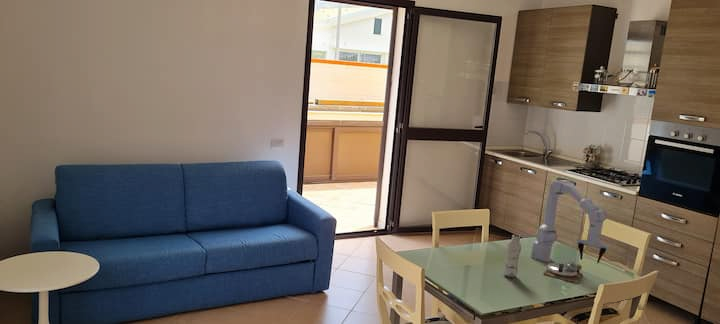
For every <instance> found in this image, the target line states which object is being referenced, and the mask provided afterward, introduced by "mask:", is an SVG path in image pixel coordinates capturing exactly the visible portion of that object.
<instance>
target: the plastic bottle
mask: <svg viewBox="0 0 720 324" xmlns="http://www.w3.org/2000/svg"><path fill="white" fill-rule="evenodd" d="M520 241H521V236H520V235H518V234H512V236H511V240H510V242H508V244H507V247H506V248H507V251H506V253H507V254H506V260H505V264H504V267H503V272H502V273H503V275H504V276H505V277H508V278H515V277H516V276H517V275H518V263H519V258H520V254H521V251H522V245H521V242H520Z"/></svg>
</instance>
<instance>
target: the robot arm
mask: <svg viewBox="0 0 720 324" xmlns="http://www.w3.org/2000/svg"><path fill="white" fill-rule="evenodd" d="M564 194H568V195H569V196H571V197H572V198H573V199H574V200H576V202H578V203H579V207H580V208H581V210H583V212H584V213H586V214H587V215H588V216H587V217H588V221H589V222H588V223H589V226H588V229H587V230H588V232H587V235H586V236H587V237H586V239H581V238H577V239H576V242H575V244H577V247H578V250H579V257H580V258H579V259H580V260H583V255H584V249H585V246H587V247H592V248H597V249H599V254H598V258H597V263H596V264H600V261H601V258H602V257H603V255H604V254H605V253H606V251H609V248H610V245H607V244H604V243H601V242H600V241H601V235H602V230H603V224H604V221H607V217H608V215H607V212H606V211H605V209H603V208H599V206H598V205H596V204H595V203H594V202H593V200H592V198H585V197H584V196H583V194H582V193H581V192H580V191H579V190H578V189H577V188H576V186H575V183H573V182H572V180H569V179H566V180H556V179H555V180H553V181H552V182H550V184H549V188H548V190H547V195H546V201H545V209H544V215H543V223H542V224H541V225H539V227H538V228H537V231H536V233H535V239H536V240H533V244H532V248H531V254H530V258H531V259H535V260H539V261H543V262H547V263H550V262H551V260H552V257H551V255H552V248H553V244H554V242H556V241H557V238H558V234H557V227H556V226H555V222H556V214H557V207H558V202H559V201H558V200H559V197H560V196H563V195H564Z"/></svg>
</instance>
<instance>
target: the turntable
mask: <svg viewBox="0 0 720 324" xmlns="http://www.w3.org/2000/svg"><path fill="white" fill-rule="evenodd" d="M565 268H566V264H564V263H562V262H560V263H558V262H548V264H547V265H546V269H547V270H548V271H549V272H551V273H553V274H555V275H558V276H563V277H575V276H576V275H577V269H576V272H569V271H566V270H565Z"/></svg>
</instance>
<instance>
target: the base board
mask: <svg viewBox="0 0 720 324" xmlns="http://www.w3.org/2000/svg"><path fill="white" fill-rule="evenodd" d="M576 265H577V269H576V270H577V275H576V276H575V277H563V276H558V275H555V274H553V273H551V272H549V271H548V270H547V268H546V269H545V271H544V272H543V275H544V276H548V277H551V278H554V279H558V280H561V281H565V282H569V283H573V284H577V285H578V284H579V282H580V280H581V278H582V276H583V272H580V271H581V270H582V268H583V266H582V265H581V264H579V263H578V264H576Z"/></svg>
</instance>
